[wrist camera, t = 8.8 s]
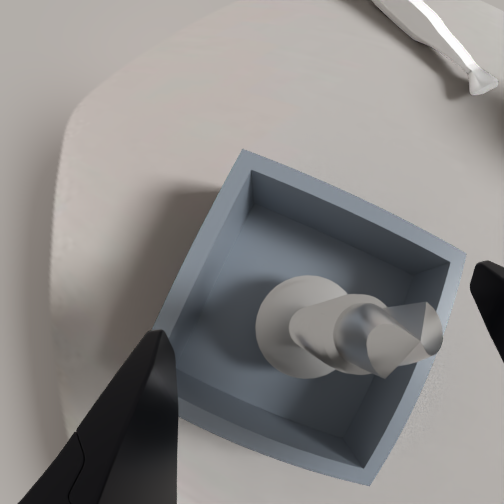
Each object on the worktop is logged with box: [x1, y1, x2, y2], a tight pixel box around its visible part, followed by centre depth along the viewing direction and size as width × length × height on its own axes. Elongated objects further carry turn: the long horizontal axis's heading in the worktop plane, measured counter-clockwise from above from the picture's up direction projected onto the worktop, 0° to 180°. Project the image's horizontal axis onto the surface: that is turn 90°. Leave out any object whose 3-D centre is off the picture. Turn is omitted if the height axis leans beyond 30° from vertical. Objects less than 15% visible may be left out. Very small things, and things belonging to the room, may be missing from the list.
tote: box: [152, 149, 466, 486], centre depth 15 cm, size 12×12×5 cm
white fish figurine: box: [372, 0, 499, 95], centre depth 20 cm, size 6×18×4 cm, turn 32°
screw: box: [255, 275, 443, 379], centre depth 10 cm, size 13×5×5 cm
